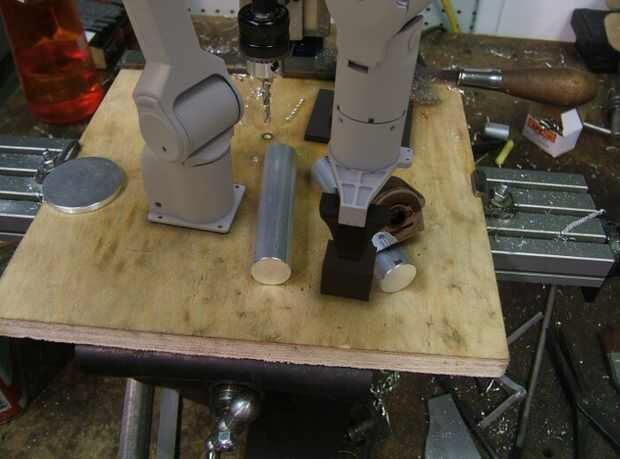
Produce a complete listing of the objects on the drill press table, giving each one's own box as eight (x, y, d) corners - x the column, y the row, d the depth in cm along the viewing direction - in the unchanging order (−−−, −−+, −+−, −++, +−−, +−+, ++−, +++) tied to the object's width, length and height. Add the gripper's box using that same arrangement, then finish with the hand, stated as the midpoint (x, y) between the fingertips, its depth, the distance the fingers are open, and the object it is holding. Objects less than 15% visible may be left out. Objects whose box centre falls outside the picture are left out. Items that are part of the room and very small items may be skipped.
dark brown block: (319, 293, 57) (322, 267, 54) (326, 264, 60) (328, 238, 57) (368, 301, 57) (373, 276, 54) (372, 272, 60) (377, 246, 57)
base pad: (304, 140, 76) (305, 121, 74) (319, 94, 84) (320, 76, 82) (407, 154, 74) (411, 136, 72) (412, 106, 83) (415, 88, 81)
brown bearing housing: (332, 222, 57) (431, 208, 56) (326, 138, 65) (412, 124, 64) (341, 262, 62) (432, 251, 61) (335, 180, 71) (414, 168, 69)
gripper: (418, 168, 38) (390, 294, 47) (426, 63, 48) (401, 185, 57) (315, 153, 38) (308, 280, 48) (344, 53, 48) (333, 175, 58)
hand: (354, 227), depth 53 cm, fingers open, 7 cm apart
